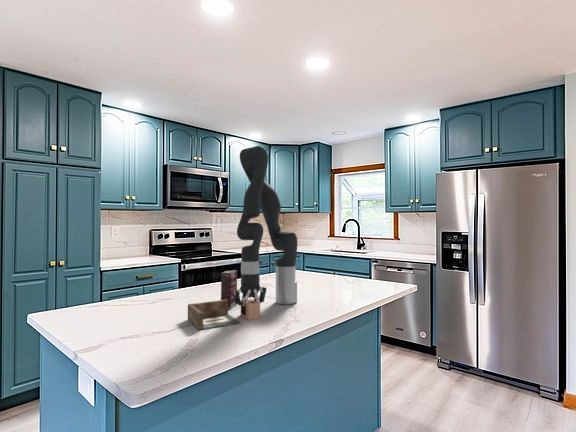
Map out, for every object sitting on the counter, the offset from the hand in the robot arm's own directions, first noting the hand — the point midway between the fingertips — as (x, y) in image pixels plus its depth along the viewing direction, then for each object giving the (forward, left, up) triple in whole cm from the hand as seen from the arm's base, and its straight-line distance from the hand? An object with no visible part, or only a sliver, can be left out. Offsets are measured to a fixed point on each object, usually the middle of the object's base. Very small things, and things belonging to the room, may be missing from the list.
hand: (250, 313), depth 144 cm
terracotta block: (0, 0, -1) cm, 1 cm away
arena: (+15, -1, -1) cm, 15 cm away
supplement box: (+2, -18, -1) cm, 18 cm away
